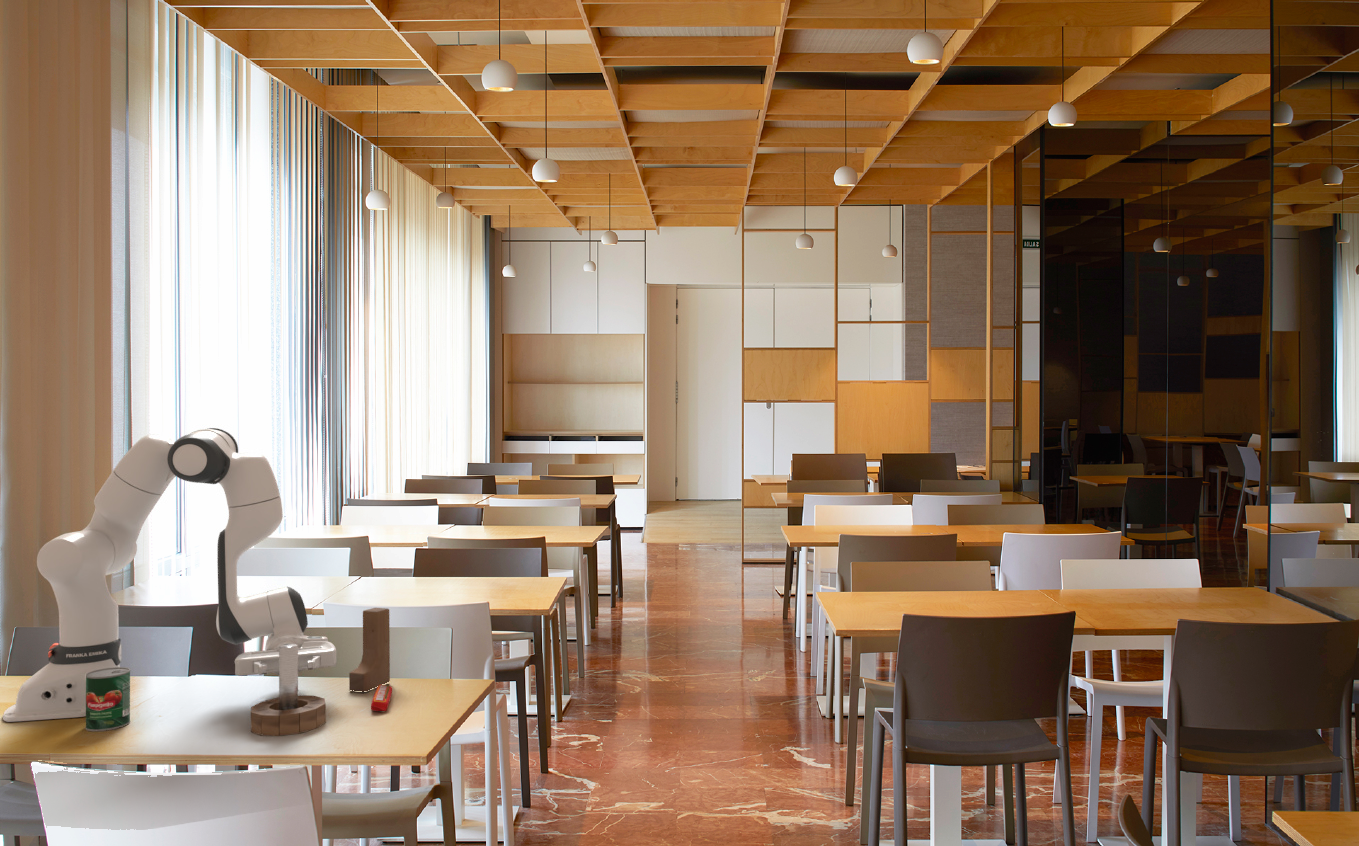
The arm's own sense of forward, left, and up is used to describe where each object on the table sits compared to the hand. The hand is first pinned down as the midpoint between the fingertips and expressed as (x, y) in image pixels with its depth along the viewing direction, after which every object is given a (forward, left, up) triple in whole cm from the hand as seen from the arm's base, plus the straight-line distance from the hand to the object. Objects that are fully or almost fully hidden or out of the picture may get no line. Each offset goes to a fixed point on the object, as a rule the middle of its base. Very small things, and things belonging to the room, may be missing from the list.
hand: (287, 668), depth 194 cm
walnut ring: (0, -5, -10) cm, 12 cm away
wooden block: (+18, +17, -11) cm, 27 cm away
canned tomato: (-34, +11, -11) cm, 37 cm away
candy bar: (+19, +3, -11) cm, 22 cm away
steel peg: (0, -5, -10) cm, 12 cm away
